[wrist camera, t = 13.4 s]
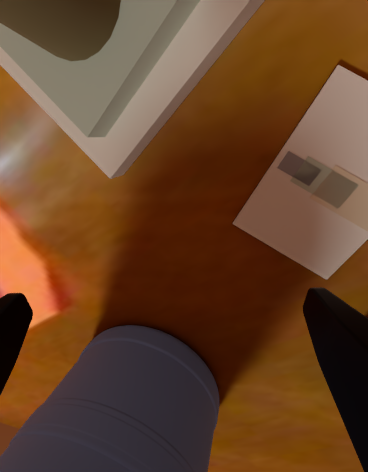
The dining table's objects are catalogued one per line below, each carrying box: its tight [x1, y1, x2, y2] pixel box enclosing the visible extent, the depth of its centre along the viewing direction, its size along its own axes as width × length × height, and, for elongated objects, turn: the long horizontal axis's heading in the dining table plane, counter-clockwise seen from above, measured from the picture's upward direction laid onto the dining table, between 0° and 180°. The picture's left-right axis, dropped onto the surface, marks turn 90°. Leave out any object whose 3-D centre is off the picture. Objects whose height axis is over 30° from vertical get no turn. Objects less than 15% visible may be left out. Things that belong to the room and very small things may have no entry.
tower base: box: [0, 0, 265, 179], centre depth 15 cm, size 14×14×4 cm
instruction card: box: [232, 65, 368, 280], centre depth 16 cm, size 8×11×1 cm
